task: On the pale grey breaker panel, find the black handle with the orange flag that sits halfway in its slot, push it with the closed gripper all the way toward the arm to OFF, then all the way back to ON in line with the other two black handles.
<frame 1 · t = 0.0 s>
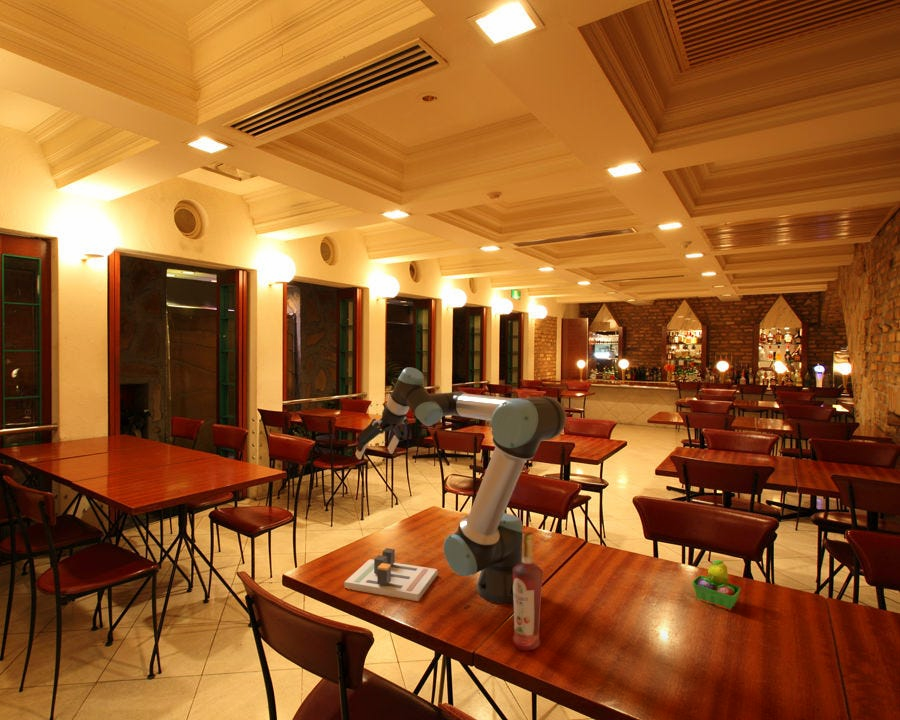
hand: (374, 453, 173), 36 cm above the table, tool tilted 35°, fingers open, 13 cm apart
panel: (392, 581, 154), on the table
fruit basket: (716, 602, 144), on the table
handle far: (388, 557, 161), point 5 cm above the table, slide at 4.0 cm
liquor: (526, 646, 122), on the table
handle middle: (380, 564, 155), point 5 cm above the table, slide at 4.0 cm
handle tripped: (384, 574, 148), point 5 cm above the table, slide at 0.0 cm
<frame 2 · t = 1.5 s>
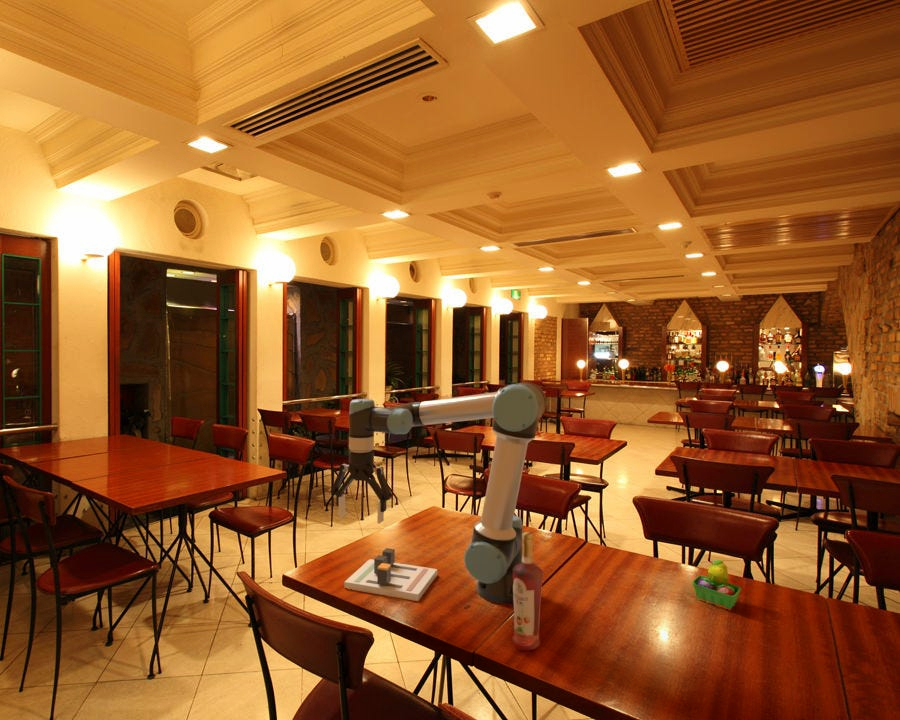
hand: (360, 519, 150), 21 cm above the table, tool pointing down, fingers open, 12 cm apart
nothing on the table moved.
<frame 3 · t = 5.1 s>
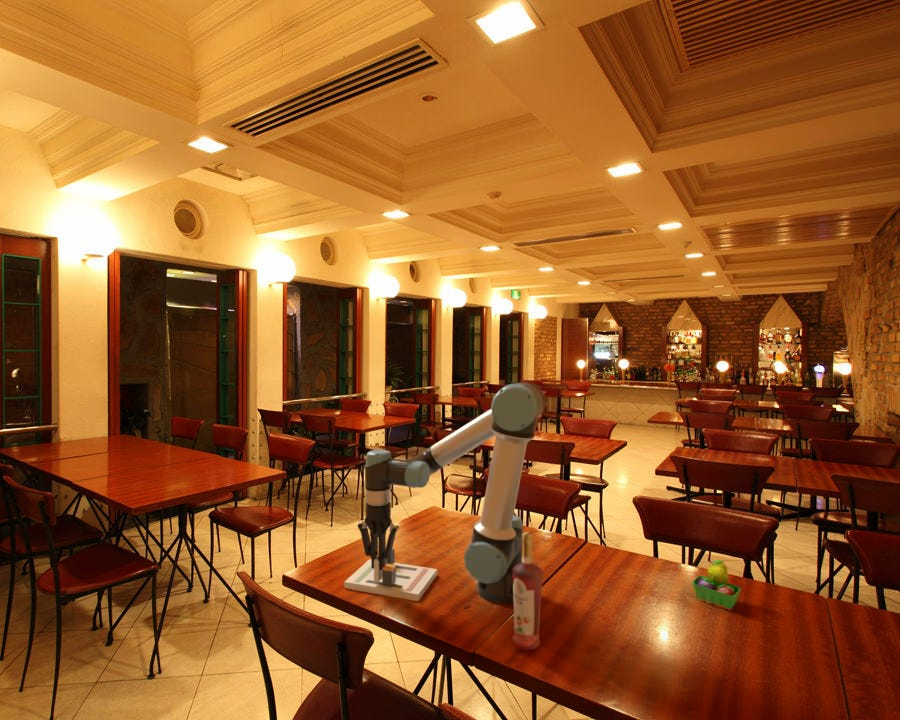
hand: (378, 579, 149), 3 cm above the table, tool pointing down, fingers closed
handle tripped: (389, 574, 148), point 5 cm above the table, slide at -1.7 cm, touching gripper
everything else where it was.
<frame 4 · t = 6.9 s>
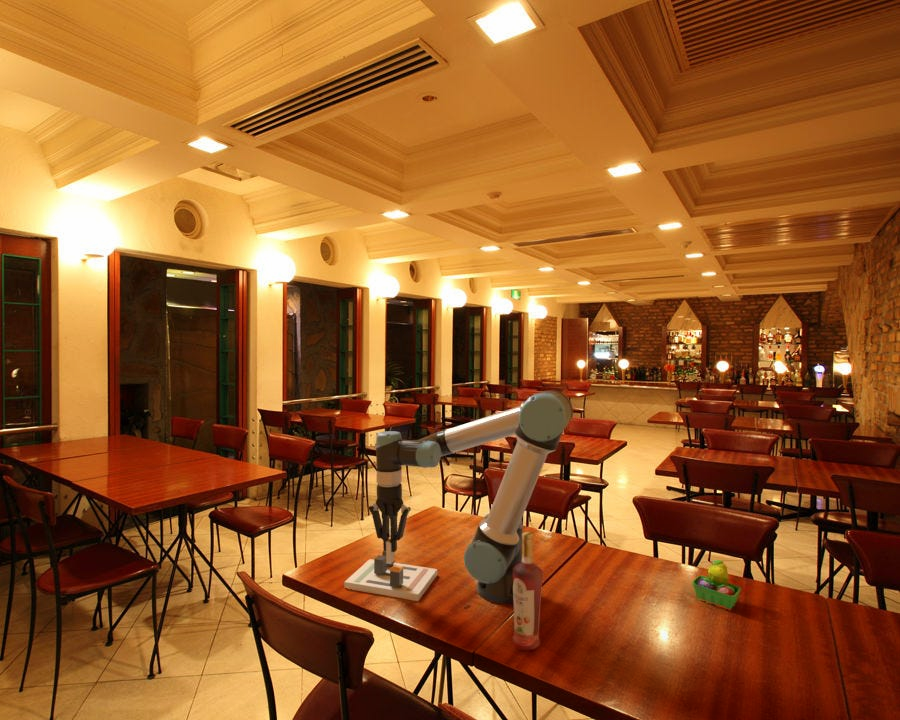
hand: (390, 561, 147), 9 cm above the table, tool pointing down, fingers closed
handle tripped: (396, 576, 147), point 5 cm above the table, slide at -4.1 cm
everything else where it was.
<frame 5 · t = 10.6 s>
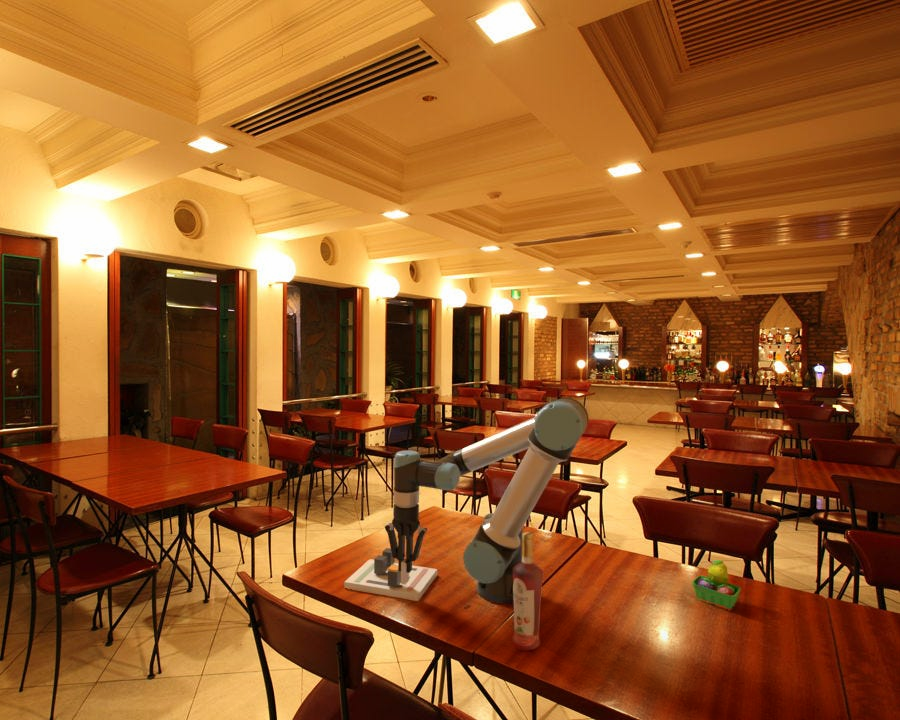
hand: (404, 582, 146), 4 cm above the table, tool pointing down, fingers closed
handle tripped: (394, 575, 147), point 5 cm above the table, slide at -3.3 cm, touching gripper
everything else where it was.
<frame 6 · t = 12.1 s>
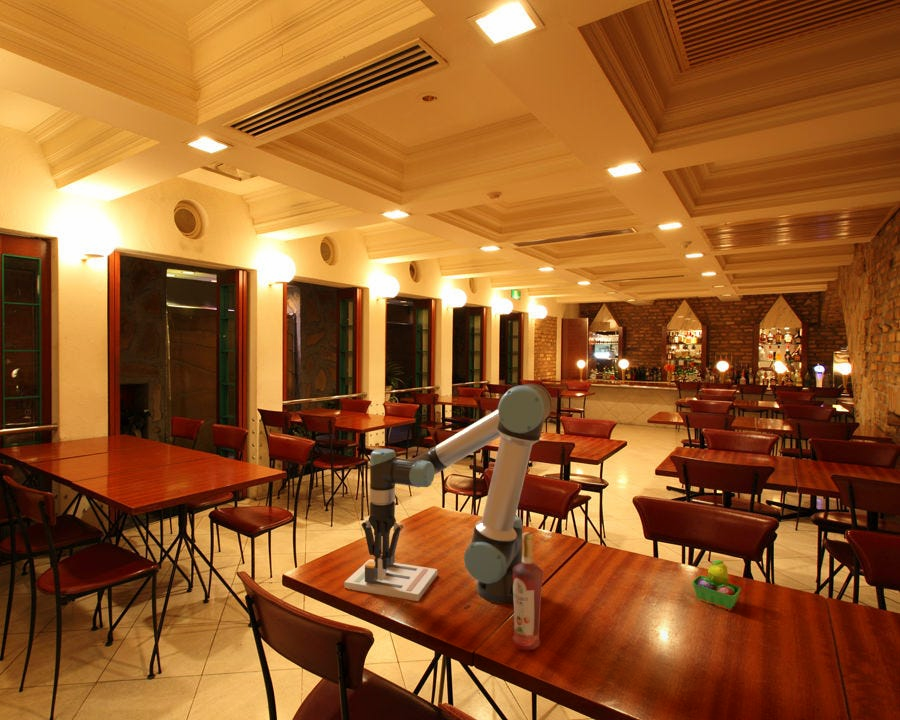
hand: (381, 578, 148), 4 cm above the table, tool pointing down, fingers closed
handle tripped: (371, 572, 149), point 5 cm above the table, slide at 4.2 cm, touching gripper
everything else where it was.
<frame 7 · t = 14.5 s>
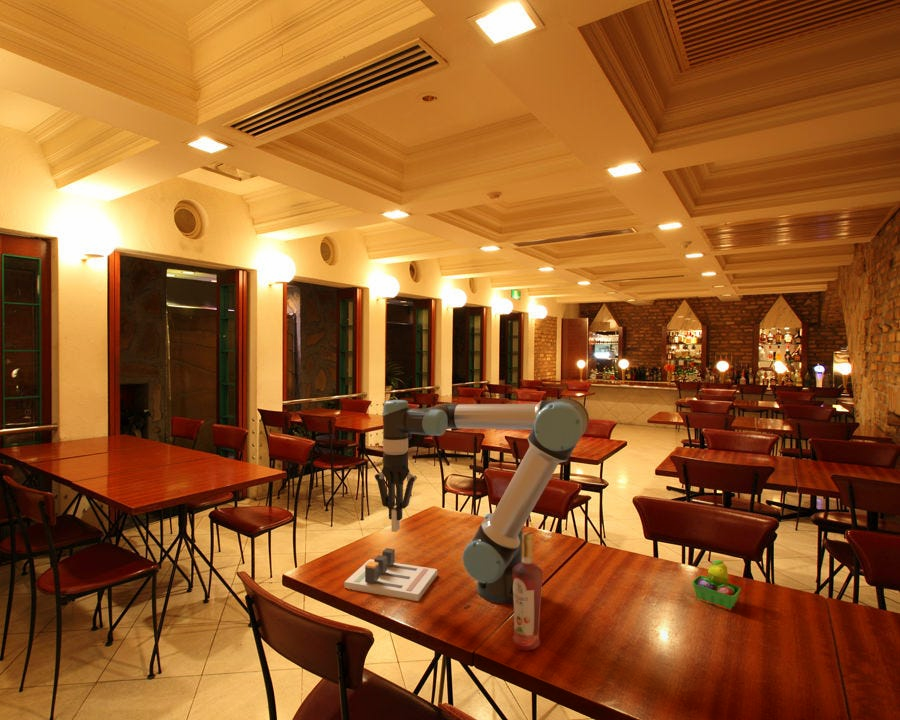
hand: (395, 530, 147), 19 cm above the table, tool pointing down, fingers closed
handle tripped: (371, 572, 149), point 5 cm above the table, slide at 4.1 cm
everything else where it was.
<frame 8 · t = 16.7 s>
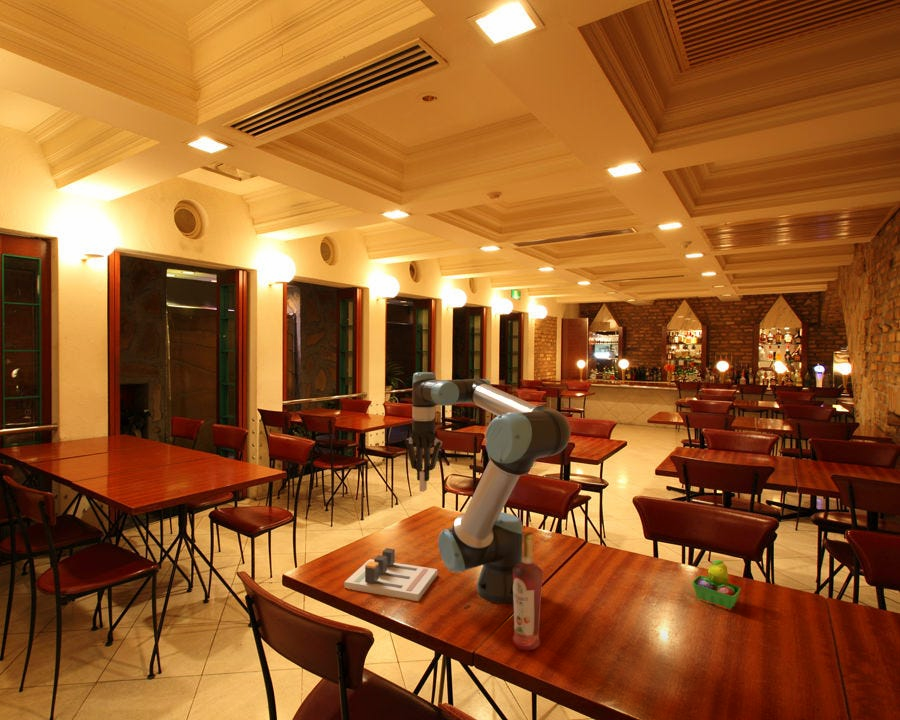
hand: (423, 490, 162), 26 cm above the table, tool pointing down, fingers closed
nothing on the table moved.
at the end: handle tripped slide at 4.1 cm; handle middle slide at 4.0 cm; handle far slide at 4.0 cm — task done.
